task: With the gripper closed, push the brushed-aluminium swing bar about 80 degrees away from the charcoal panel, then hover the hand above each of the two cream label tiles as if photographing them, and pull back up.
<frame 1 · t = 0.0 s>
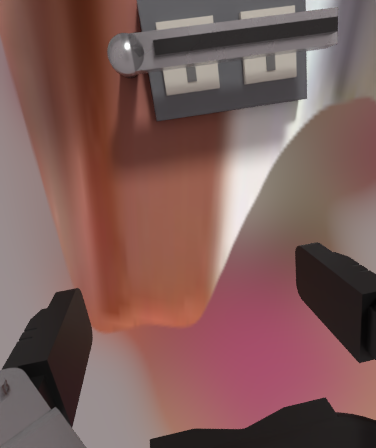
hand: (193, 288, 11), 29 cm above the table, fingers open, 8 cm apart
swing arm: (224, 42, 29), point 7 cm above the table, hinge at 0.0°
label panel: (224, 55, 36), on the table
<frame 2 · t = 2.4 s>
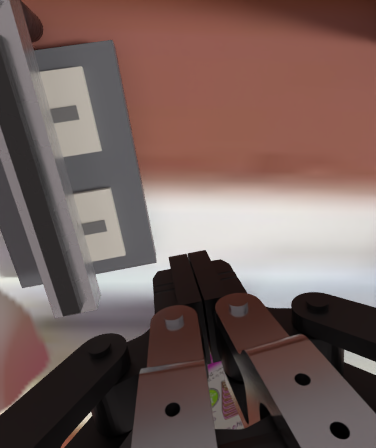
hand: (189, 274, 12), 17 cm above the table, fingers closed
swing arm: (32, 161, 19), point 7 cm above the table, hinge at 0.0°
pivot post: (28, 27, 23), on the table
candy bar box: (218, 334, 34), on the table
label panel: (68, 172, 27), on the table
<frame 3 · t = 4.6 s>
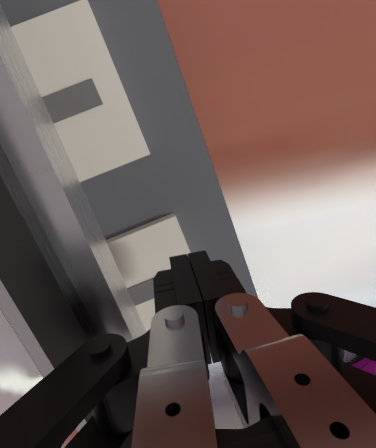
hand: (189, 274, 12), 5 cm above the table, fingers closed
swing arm: (20, 211, 9), point 7 cm above the table, hinge at 2.8°, touching gripper
label panel: (97, 201, 16), on the table
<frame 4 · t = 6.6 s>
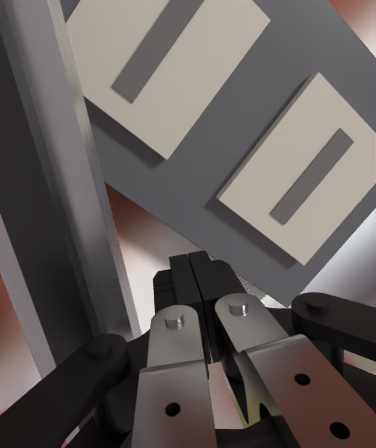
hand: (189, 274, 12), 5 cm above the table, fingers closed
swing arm: (43, 196, 9), point 7 cm above the table, hinge at 42.9°, touching gripper
label panel: (226, 118, 16), on the table
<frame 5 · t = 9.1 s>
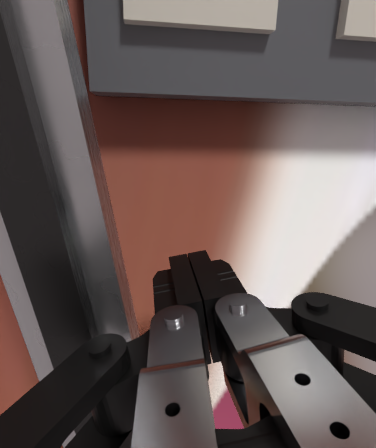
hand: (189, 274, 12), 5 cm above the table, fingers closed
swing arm: (44, 191, 8), point 7 cm above the table, hinge at 81.1°
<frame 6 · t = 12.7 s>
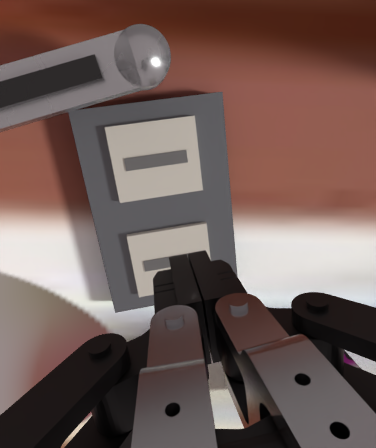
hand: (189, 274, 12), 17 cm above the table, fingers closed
label panel: (162, 206, 29), on the table
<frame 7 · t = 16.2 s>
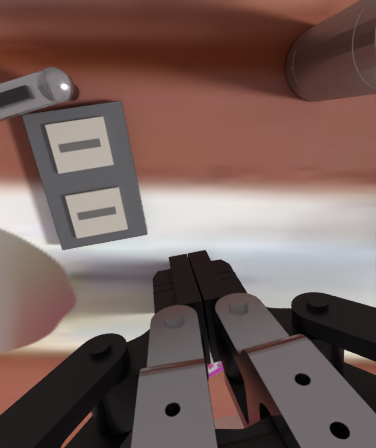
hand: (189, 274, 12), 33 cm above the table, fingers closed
pivot post: (71, 92, 39), on the table
label panel: (92, 177, 43), on the table
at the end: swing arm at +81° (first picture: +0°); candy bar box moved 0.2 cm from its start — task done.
